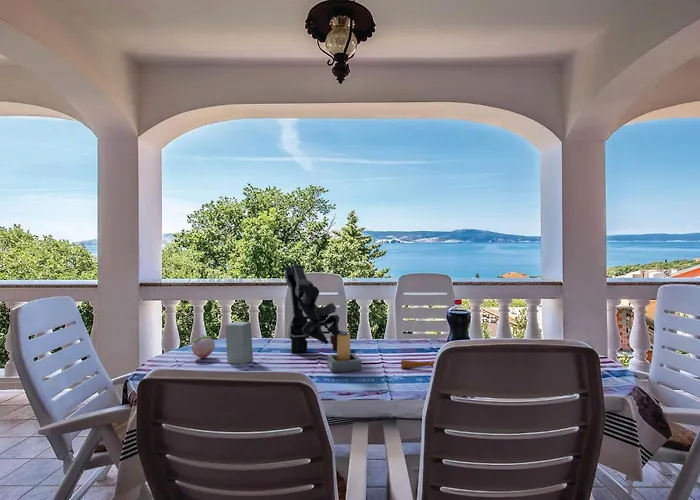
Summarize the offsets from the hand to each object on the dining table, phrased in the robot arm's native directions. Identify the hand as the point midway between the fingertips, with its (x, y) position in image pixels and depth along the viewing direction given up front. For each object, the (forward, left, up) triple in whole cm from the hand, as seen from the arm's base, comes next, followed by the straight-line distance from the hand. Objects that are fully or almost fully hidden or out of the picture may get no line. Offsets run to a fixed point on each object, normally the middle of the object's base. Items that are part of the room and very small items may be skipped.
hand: (334, 341), depth 161 cm
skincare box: (-36, +15, -10) cm, 40 cm away
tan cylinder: (+3, -3, -9) cm, 10 cm away
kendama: (+33, -13, -10) cm, 37 cm away
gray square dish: (+3, -3, -10) cm, 11 cm away
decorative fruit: (-51, +24, -10) cm, 57 cm away
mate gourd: (+7, +29, -10) cm, 31 cm away
